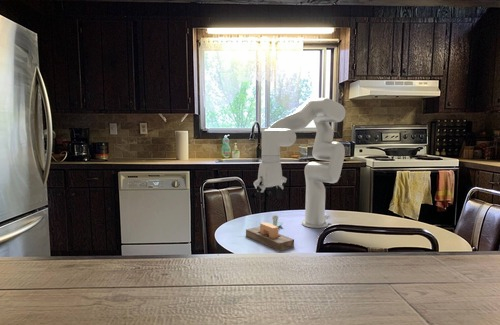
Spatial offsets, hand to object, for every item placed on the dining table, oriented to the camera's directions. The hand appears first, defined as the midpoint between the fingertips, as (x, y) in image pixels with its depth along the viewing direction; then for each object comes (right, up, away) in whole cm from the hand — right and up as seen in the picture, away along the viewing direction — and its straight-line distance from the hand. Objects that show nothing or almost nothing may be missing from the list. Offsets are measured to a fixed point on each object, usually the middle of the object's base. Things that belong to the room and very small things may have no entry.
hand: (270, 199), depth 140 cm
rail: (-1, -18, +1) cm, 18 cm away
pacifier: (+4, -16, +23) cm, 28 cm away
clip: (-1, -18, +1) cm, 18 cm away
